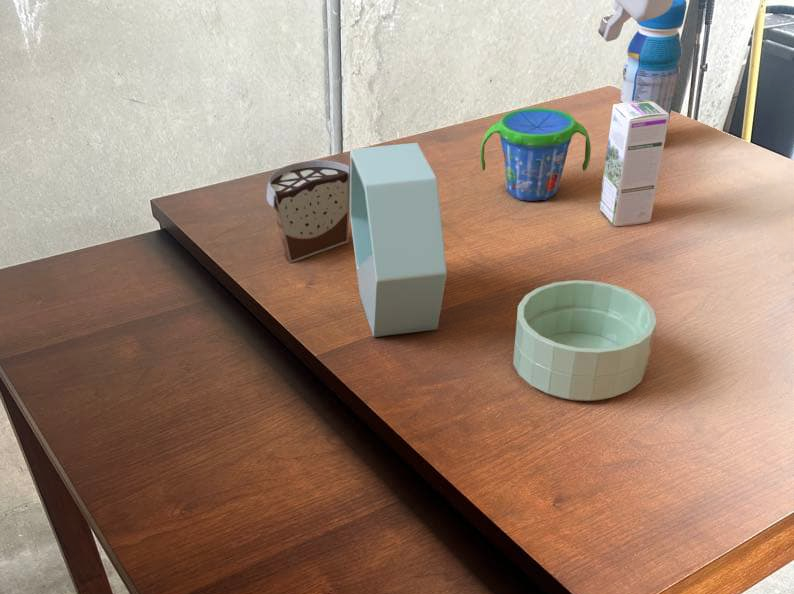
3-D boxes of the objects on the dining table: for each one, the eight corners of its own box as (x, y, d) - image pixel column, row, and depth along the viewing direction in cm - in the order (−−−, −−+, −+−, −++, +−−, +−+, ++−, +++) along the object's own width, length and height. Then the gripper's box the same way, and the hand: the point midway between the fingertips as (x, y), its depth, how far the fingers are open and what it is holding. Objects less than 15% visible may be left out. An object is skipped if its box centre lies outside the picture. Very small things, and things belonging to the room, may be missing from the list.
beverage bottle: (645, 155, 136) (671, 11, 122) (602, 141, 141) (622, 0, 127) (676, 140, 140) (705, -1, 126) (633, 127, 145) (656, -11, 131)
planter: (365, 340, 109) (342, 166, 105) (425, 332, 110) (405, 160, 106) (382, 334, 93) (357, 128, 88) (453, 325, 94) (431, 121, 89)
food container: (332, 223, 122) (327, 151, 115) (357, 239, 119) (353, 165, 112) (257, 249, 117) (246, 175, 110) (280, 266, 114) (271, 191, 107)
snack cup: (474, 204, 126) (477, 131, 118) (483, 174, 133) (487, 104, 126) (583, 211, 123) (593, 137, 116) (586, 181, 130) (596, 109, 123)
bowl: (640, 334, 100) (650, 283, 96) (649, 408, 90) (661, 355, 86) (515, 328, 102) (519, 277, 97) (510, 400, 92) (515, 347, 87)
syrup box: (651, 222, 120) (673, 112, 110) (611, 228, 119) (629, 117, 109) (634, 205, 124) (654, 97, 114) (596, 210, 123) (612, 102, 113)
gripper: (721, -83, 77) (663, 62, 89) (591, -200, 84) (554, -51, 96) (666, -69, 75) (614, 77, 87) (538, -190, 82) (507, -39, 94)
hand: (582, 9), depth 92 cm, fingers open, 8 cm apart
